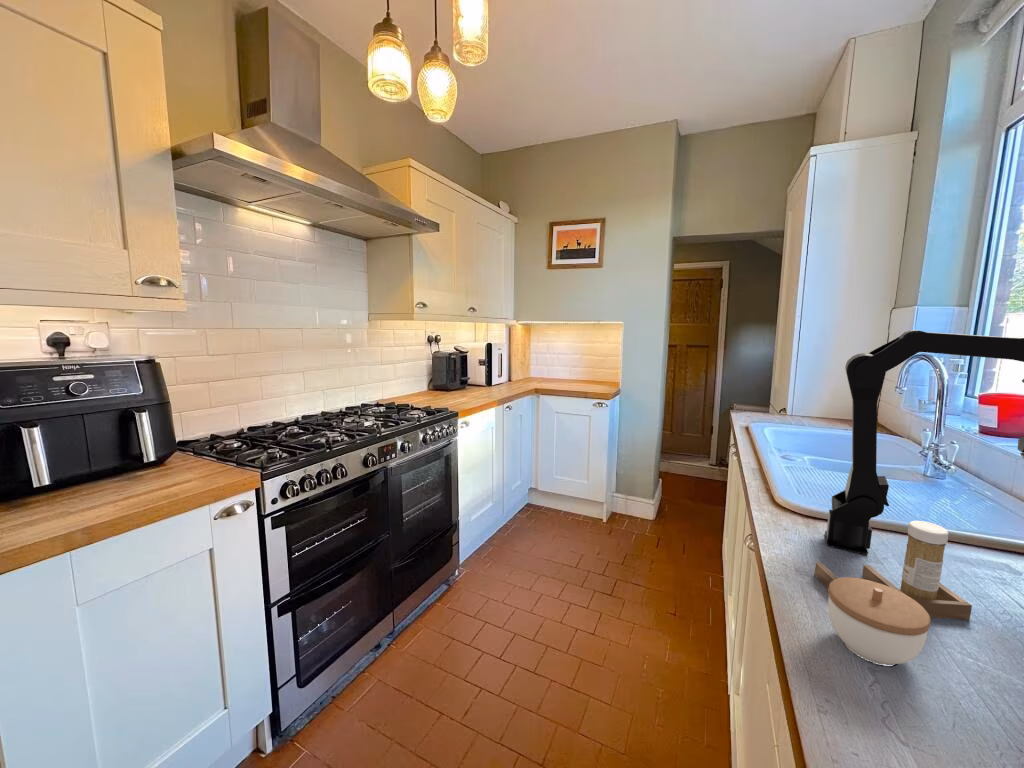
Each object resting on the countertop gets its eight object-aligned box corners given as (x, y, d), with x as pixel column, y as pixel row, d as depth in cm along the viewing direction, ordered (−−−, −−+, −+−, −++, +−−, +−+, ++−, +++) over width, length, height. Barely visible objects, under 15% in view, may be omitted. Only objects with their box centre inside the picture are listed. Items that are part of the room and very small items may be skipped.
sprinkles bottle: (896, 589, 72) (907, 516, 70) (933, 599, 69) (945, 524, 67) (899, 603, 68) (910, 527, 66) (939, 615, 65) (951, 536, 63)
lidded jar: (807, 635, 62) (813, 578, 60) (850, 614, 66) (856, 560, 65) (895, 693, 52) (905, 627, 51) (939, 664, 56) (949, 602, 55)
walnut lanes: (814, 574, 76) (815, 562, 76) (916, 580, 74) (918, 568, 74) (850, 612, 66) (852, 598, 66) (969, 619, 64) (972, 605, 64)
